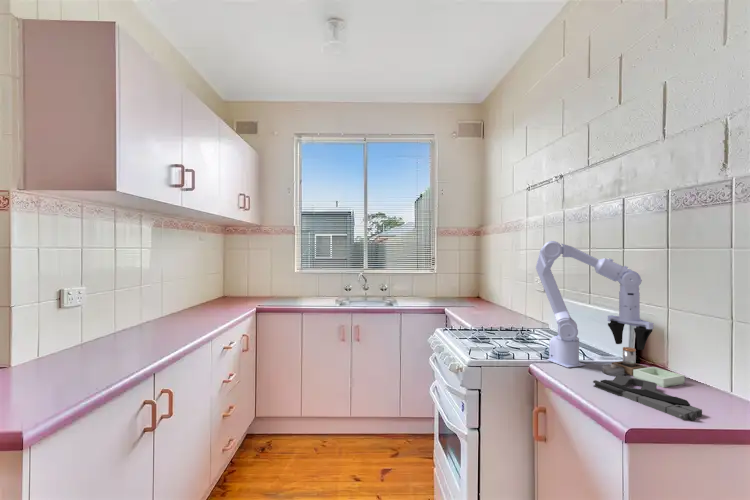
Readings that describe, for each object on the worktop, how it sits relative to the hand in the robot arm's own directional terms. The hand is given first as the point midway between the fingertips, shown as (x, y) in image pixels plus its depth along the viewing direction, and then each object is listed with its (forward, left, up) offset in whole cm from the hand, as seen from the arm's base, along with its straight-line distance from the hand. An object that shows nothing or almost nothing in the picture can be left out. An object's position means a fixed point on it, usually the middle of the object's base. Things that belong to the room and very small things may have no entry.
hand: (629, 346), depth 127 cm
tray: (+9, 0, -8) cm, 13 cm away
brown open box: (0, -3, -8) cm, 9 cm away
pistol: (+18, -15, -9) cm, 25 cm away
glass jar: (0, 0, -8) cm, 8 cm away
